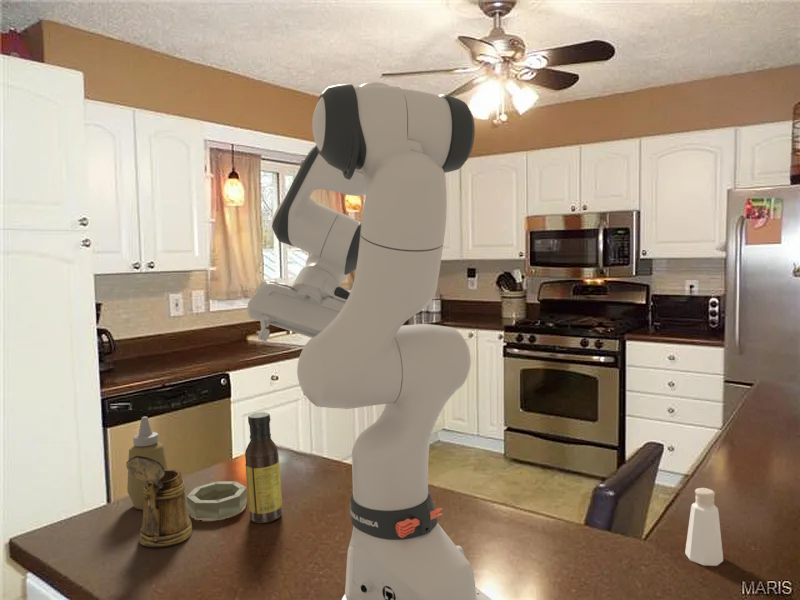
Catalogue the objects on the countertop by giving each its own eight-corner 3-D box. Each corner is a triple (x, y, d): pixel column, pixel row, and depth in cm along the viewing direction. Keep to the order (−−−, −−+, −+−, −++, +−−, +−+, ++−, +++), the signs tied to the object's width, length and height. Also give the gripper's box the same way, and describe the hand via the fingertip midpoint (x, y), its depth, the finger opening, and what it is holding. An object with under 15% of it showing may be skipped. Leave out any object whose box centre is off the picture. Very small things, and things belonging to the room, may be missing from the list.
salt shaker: (703, 569, 91) (704, 499, 91) (677, 552, 97) (678, 486, 96) (731, 563, 93) (732, 494, 92) (704, 546, 98) (705, 481, 97)
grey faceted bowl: (255, 508, 117) (255, 491, 117) (202, 526, 110) (201, 508, 110) (231, 493, 125) (230, 477, 125) (180, 508, 118) (179, 491, 118)
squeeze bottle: (178, 496, 125) (173, 411, 123) (159, 513, 117) (153, 423, 115) (141, 495, 125) (136, 411, 124) (120, 512, 117) (113, 423, 116)
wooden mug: (116, 562, 98) (109, 456, 97) (153, 525, 112) (147, 431, 110) (170, 562, 98) (163, 455, 96) (200, 524, 111) (195, 430, 110)
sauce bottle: (289, 512, 115) (284, 411, 114) (269, 526, 110) (264, 420, 108) (261, 508, 118) (256, 409, 116) (241, 521, 112) (236, 417, 110)
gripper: (263, 267, 116) (231, 318, 107) (363, 298, 115) (339, 353, 106) (264, 288, 121) (233, 339, 112) (360, 318, 120) (337, 372, 110)
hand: (286, 346), depth 109 cm, fingers open, 8 cm apart
